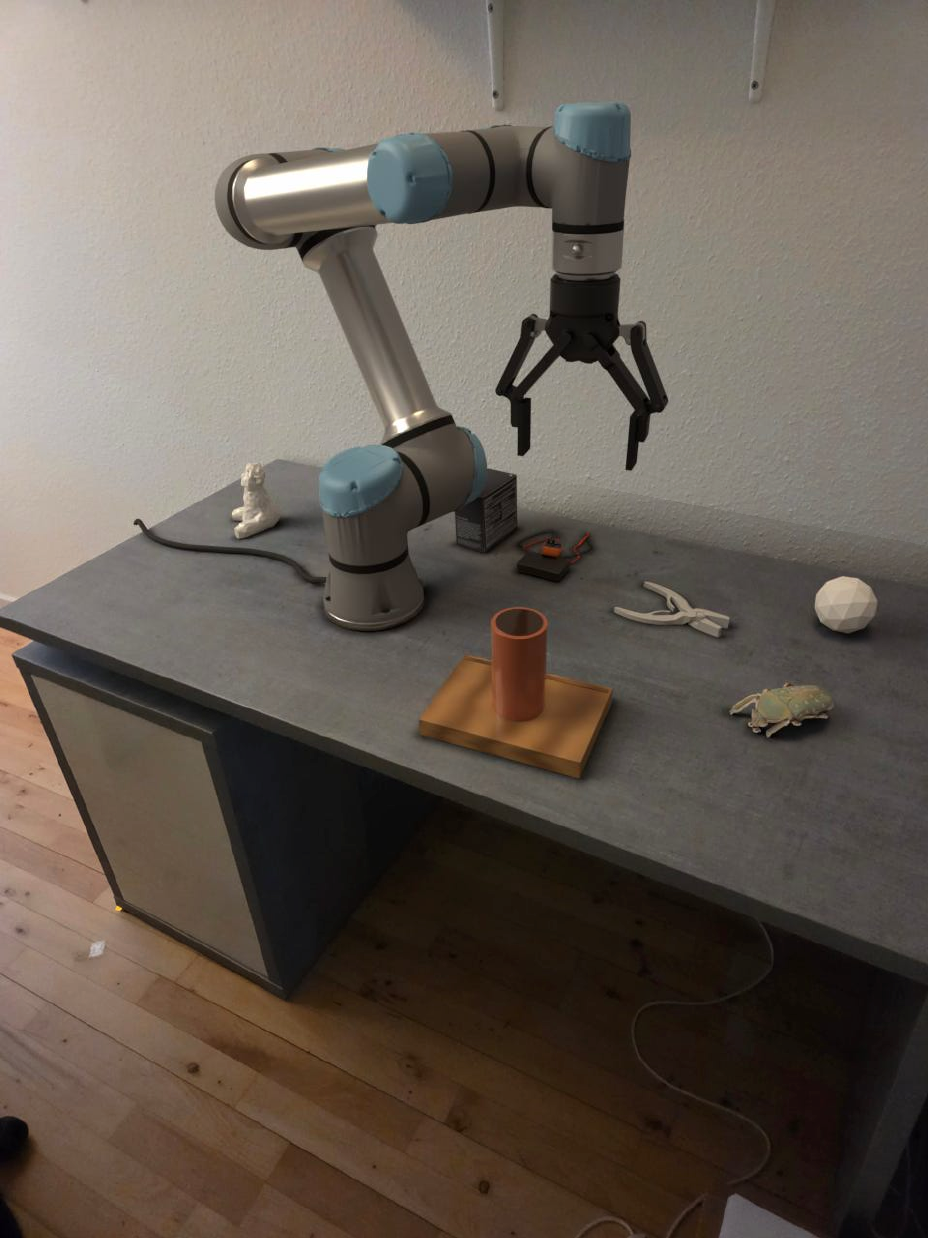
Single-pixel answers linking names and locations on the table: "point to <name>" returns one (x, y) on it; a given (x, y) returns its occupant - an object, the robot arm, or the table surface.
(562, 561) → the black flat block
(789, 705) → the decorative insect model
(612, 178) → the robot arm
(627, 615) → the pliers
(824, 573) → the table surface
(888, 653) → the table surface
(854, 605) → the geometric ball
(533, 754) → the oak board
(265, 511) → the sitting furry creature
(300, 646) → the table surface
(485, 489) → the small box
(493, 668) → the pen cup
